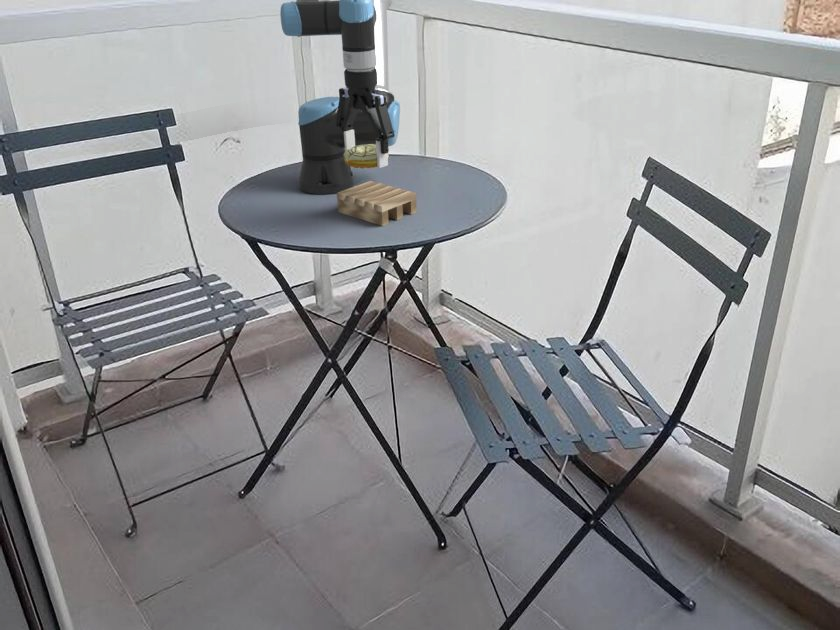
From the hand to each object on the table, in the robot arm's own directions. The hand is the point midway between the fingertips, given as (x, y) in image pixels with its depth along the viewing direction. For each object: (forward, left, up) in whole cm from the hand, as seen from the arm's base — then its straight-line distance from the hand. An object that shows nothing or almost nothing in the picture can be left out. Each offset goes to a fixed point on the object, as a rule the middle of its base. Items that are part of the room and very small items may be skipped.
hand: (366, 161), depth 197 cm
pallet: (0, +2, -14) cm, 14 cm away
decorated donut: (0, 0, -1) cm, 1 cm away
